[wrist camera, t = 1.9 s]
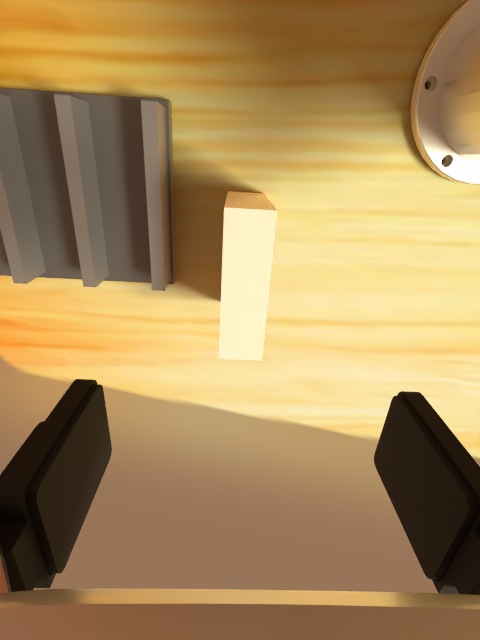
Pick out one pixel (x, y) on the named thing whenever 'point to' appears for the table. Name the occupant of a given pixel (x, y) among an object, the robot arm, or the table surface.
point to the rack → (86, 188)
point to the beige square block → (245, 274)
